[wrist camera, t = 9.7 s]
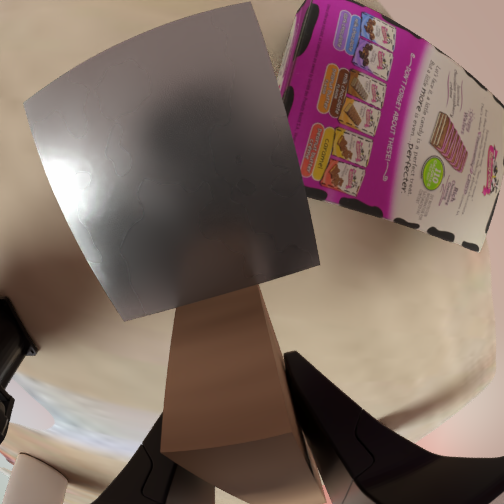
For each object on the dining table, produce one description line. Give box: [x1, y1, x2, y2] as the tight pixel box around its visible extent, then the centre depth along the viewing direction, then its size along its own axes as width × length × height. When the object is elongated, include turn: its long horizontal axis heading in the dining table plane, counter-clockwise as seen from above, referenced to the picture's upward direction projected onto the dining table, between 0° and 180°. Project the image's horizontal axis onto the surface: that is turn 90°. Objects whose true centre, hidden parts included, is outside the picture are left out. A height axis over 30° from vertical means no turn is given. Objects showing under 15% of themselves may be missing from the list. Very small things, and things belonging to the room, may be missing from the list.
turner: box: [23, 2, 326, 504], centre depth 7 cm, size 17×6×5 cm, turn 16°
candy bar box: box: [277, 0, 504, 253], centre depth 14 cm, size 11×5×16 cm
